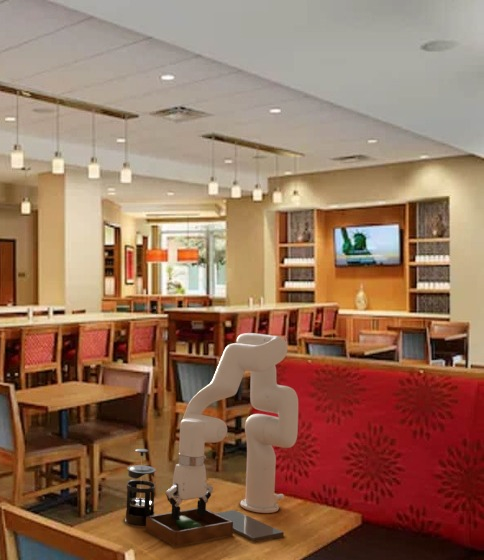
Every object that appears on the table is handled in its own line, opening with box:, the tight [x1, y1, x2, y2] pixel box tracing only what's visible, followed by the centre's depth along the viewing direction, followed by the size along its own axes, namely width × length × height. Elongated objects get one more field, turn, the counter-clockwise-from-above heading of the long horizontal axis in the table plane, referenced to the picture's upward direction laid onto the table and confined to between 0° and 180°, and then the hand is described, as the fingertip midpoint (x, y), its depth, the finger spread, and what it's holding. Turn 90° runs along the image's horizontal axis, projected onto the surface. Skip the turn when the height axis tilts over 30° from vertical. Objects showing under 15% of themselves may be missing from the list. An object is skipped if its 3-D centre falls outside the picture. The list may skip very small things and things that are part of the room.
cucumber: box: [176, 516, 202, 530], centre depth 220 cm, size 4×10×4 cm, turn 29°
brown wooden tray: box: [145, 507, 234, 547], centre depth 220 cm, size 22×15×4 cm
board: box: [214, 509, 285, 543], centre depth 227 cm, size 12×22×2 cm, turn 29°
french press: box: [124, 448, 157, 527], centre depth 229 cm, size 12×9×23 cm
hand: (188, 516), depth 220 cm, fingers open, 9 cm apart
